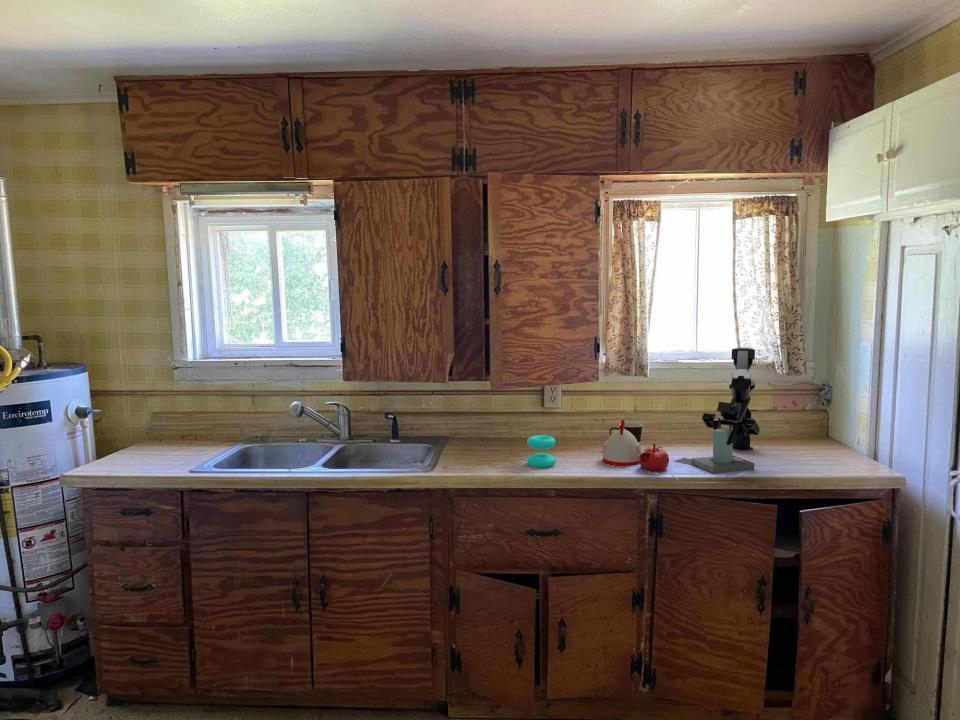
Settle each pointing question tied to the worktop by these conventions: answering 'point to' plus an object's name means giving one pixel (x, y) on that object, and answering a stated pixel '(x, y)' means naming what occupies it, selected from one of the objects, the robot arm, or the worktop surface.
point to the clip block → (722, 446)
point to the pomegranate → (654, 459)
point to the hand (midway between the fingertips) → (720, 443)
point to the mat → (684, 461)
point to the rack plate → (722, 465)
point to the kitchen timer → (622, 448)
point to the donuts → (541, 459)
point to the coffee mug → (632, 430)
